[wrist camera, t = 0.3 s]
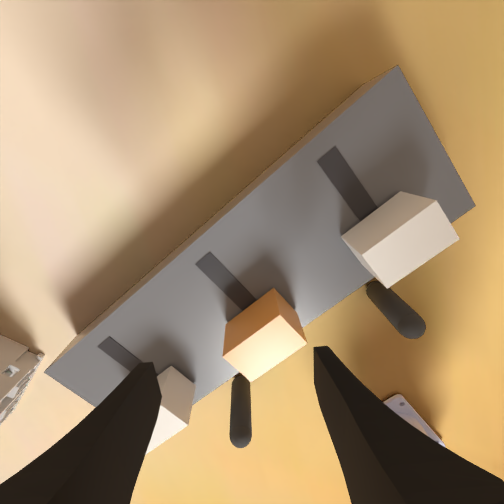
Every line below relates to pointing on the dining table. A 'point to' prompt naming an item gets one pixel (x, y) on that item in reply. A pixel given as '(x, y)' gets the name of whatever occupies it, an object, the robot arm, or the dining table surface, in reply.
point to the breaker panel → (270, 244)
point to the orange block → (262, 335)
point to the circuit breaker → (15, 373)
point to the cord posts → (386, 303)
